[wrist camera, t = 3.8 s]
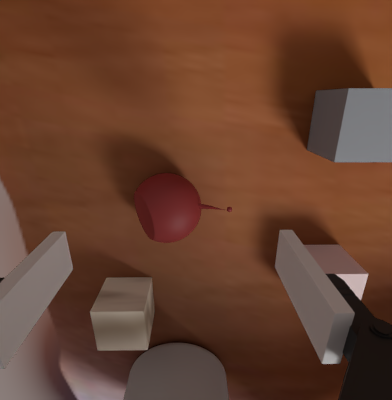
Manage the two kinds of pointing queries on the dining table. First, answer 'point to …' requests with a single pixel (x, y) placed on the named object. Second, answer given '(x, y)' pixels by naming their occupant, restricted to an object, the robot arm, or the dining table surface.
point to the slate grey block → (352, 125)
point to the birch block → (123, 314)
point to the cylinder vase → (177, 374)
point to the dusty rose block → (340, 265)
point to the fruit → (168, 207)
